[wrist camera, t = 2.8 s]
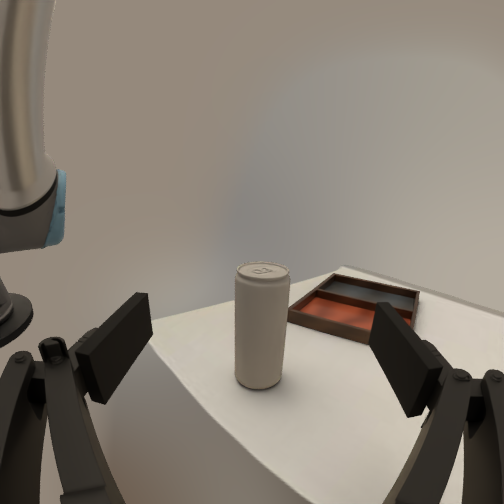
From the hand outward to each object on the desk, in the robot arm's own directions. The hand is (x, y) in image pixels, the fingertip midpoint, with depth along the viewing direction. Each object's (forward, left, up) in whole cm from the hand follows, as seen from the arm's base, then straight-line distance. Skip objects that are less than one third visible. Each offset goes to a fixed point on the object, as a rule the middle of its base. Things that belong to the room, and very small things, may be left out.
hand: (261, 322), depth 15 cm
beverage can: (-5, +8, -12) cm, 16 cm away
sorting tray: (0, +31, -12) cm, 34 cm away
